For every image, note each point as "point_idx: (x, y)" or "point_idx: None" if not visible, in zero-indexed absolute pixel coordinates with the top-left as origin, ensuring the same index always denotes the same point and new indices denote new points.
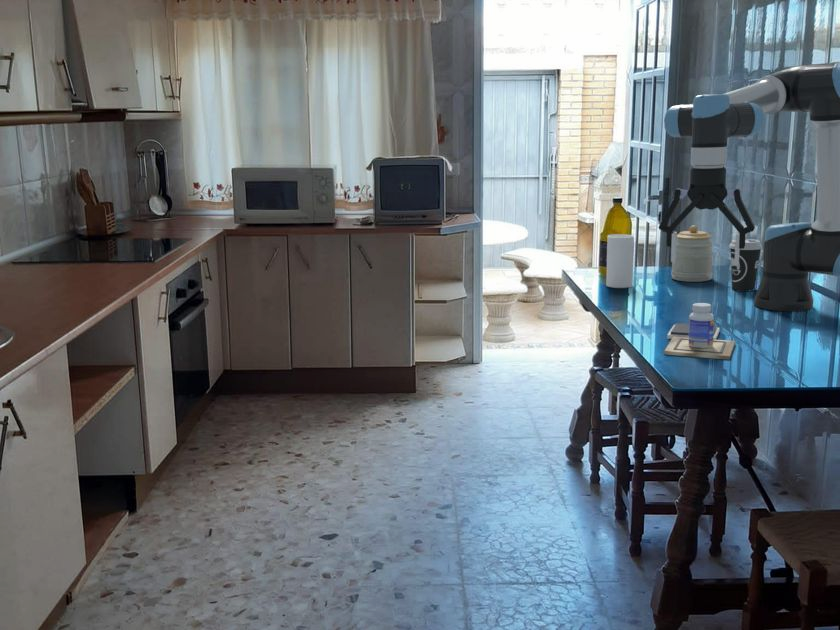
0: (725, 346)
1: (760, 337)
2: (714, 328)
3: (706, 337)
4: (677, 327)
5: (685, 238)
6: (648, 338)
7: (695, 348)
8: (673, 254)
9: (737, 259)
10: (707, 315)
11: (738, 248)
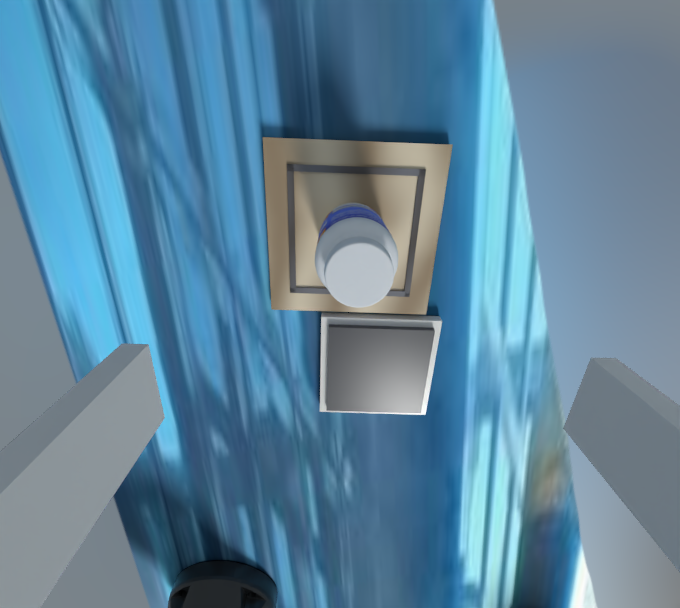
0: (287, 247)
1: (227, 380)
2: (329, 387)
3: (335, 212)
4: (418, 376)
5: None
6: (486, 308)
7: (364, 201)
8: (647, 396)
9: (104, 364)
10: (334, 239)
11: (19, 436)
